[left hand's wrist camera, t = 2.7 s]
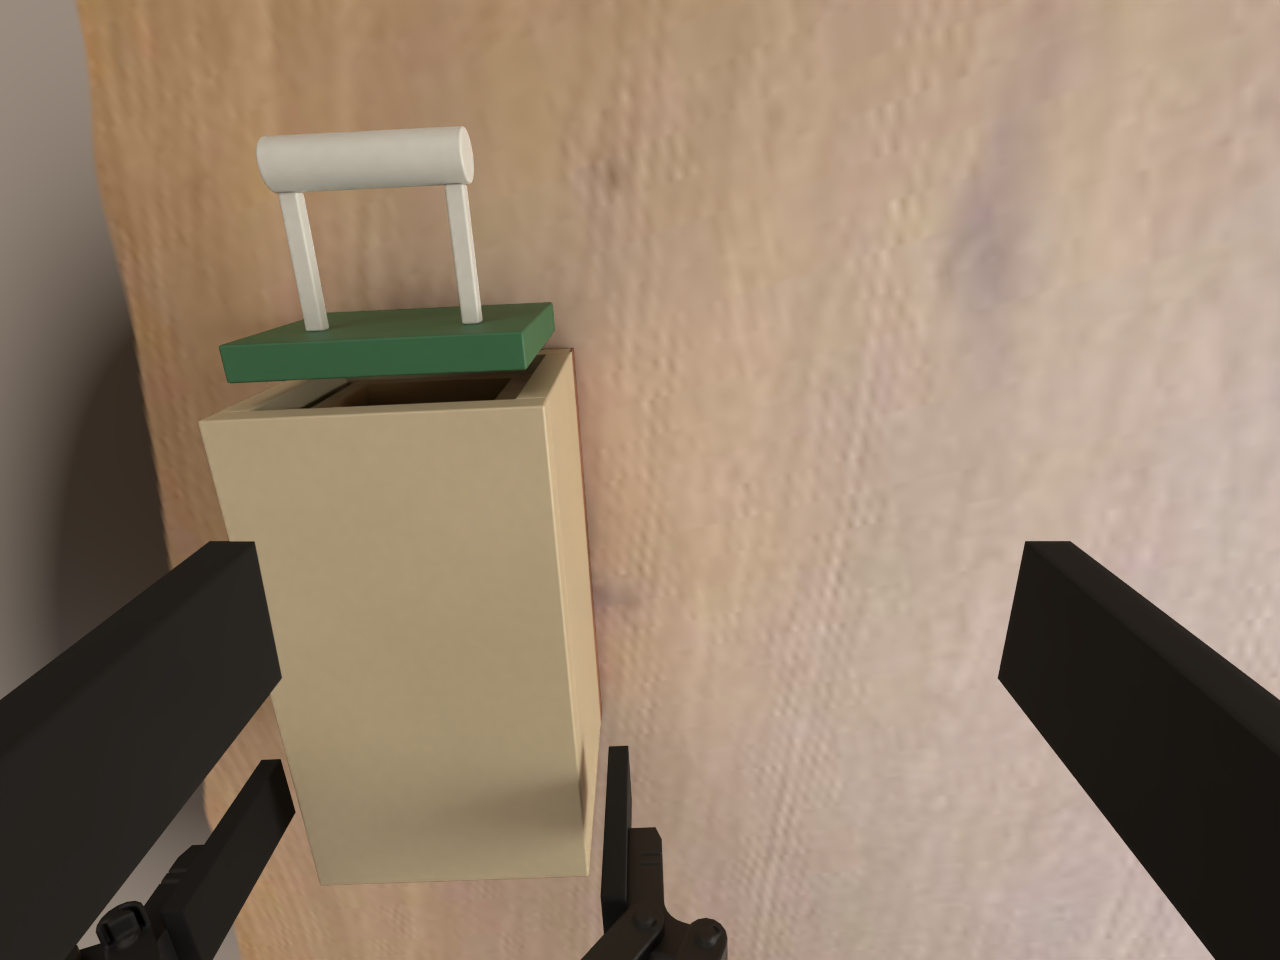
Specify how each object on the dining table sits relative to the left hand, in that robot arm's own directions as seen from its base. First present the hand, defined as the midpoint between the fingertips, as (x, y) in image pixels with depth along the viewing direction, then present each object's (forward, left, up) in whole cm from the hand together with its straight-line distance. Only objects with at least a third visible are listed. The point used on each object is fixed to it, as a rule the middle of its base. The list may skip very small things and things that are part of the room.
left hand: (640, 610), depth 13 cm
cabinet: (+10, -6, -20) cm, 24 cm away
